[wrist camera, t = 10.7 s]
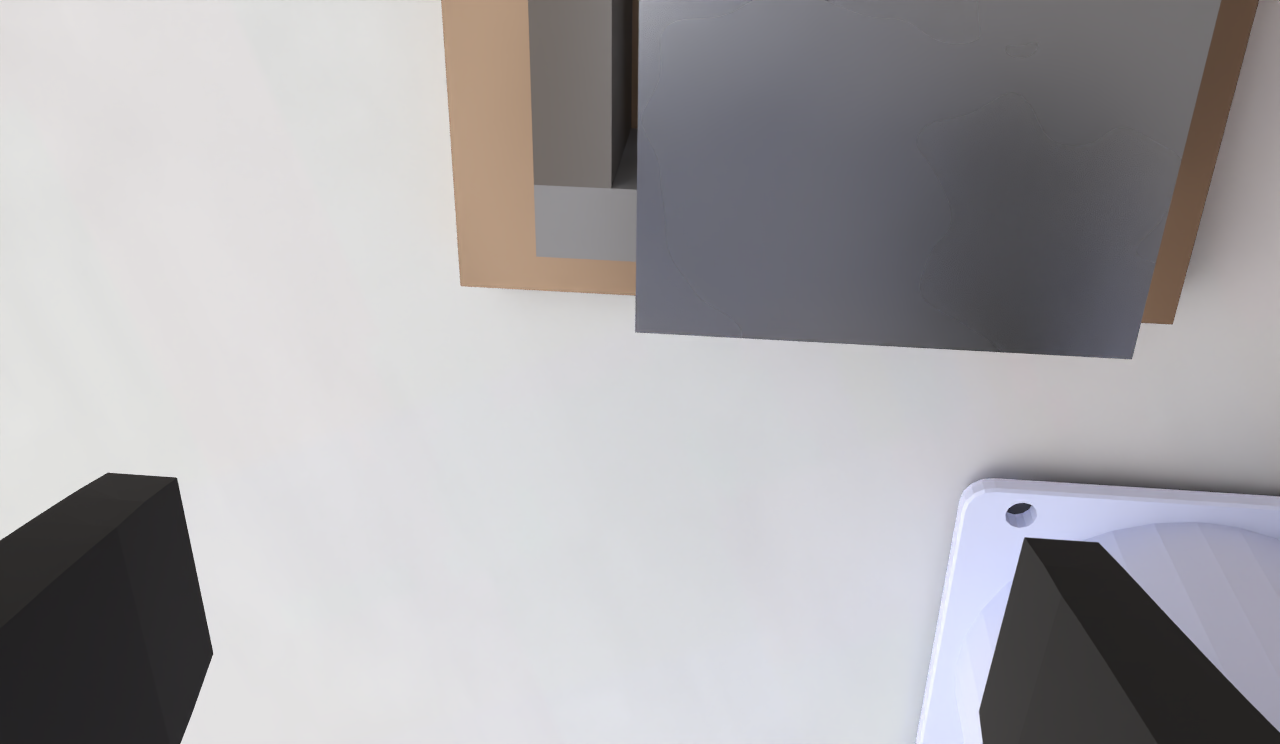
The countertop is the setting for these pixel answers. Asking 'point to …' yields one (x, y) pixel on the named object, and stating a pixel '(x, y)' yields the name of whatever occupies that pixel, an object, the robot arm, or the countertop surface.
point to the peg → (911, 168)
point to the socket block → (607, 145)
